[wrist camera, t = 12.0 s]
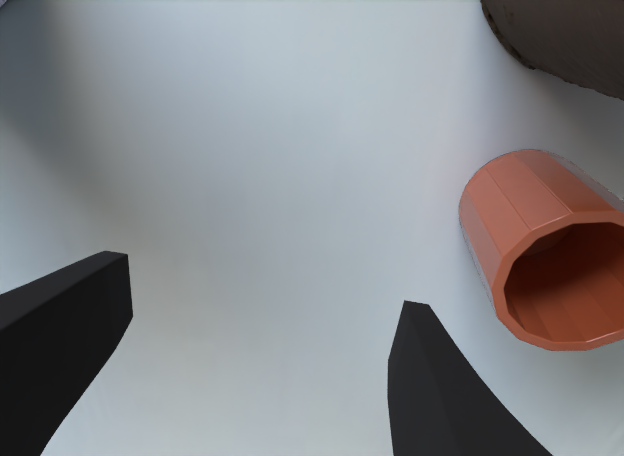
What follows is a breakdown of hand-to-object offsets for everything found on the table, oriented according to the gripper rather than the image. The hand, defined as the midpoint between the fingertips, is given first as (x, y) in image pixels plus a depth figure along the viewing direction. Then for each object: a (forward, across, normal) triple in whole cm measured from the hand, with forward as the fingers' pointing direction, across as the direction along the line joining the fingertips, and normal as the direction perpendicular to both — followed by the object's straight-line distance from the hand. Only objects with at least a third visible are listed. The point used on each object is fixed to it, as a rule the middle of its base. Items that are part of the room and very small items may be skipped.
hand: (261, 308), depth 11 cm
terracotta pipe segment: (+10, -10, 0) cm, 14 cm away
